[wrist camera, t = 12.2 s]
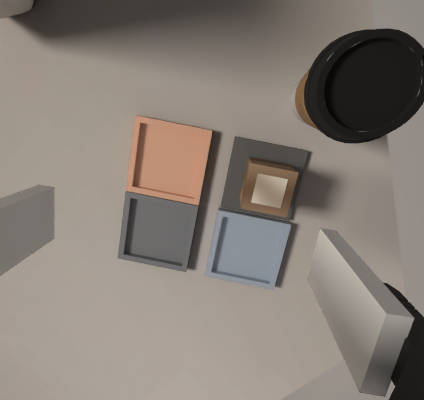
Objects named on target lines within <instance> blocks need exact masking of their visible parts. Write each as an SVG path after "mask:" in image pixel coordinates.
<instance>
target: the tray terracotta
mask: <svg viewBox="0 0 424 400" xmlns="http://www.w3.org/2000/svg"><path fill="white" fill-rule="evenodd" d="M212 133H213V130H208V129H203V128H198V127H193V126H188V125H183V124H178V123H173V122H168V121H163V120H158V119H153V118H148V117H143V116H137V115H135V120H134V128H133V136H132V145H131V153H130V161H129V169H128V178H127V186H126V191H129V192H134V193H139V194H144V195H149V196H154V197H159V198H164V199H169V200H174V201H179V202H184V203H189V204H194V205H199V203H200V197H201V192H202V187H203V181H204V176H205V171H206V165H207V160H208V155H209V149H210V144H211V139H212Z"/></svg>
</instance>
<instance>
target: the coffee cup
mask: <svg viewBox="0 0 424 400" xmlns="http://www.w3.org/2000/svg"><path fill="white" fill-rule="evenodd" d="M291 102H292V108H293V111H294V113H295V115H296V116H297V117H298V119H300V120H301V121H302V122H304V123H306V124H308V125H310V126H312V127H314V128H316V129H318V130H320V131H321V132H322V133H324V134H325V135H326V136H327V137H329V138H332V139H334V140H336V141H339V142H343V143H363V142H369V141H372V140H375V139H378V138H380V137H382V136H384V135H386V134H388V133H390V132H391V131H393V130H395V129H397V128H398V127H400V126H402V125H403V124H404V123H406V122H407V121H408V120H409V119H410V118H411V117H412V116H413V115H414V114H415V113H416V112H417V111H418V110H419V108H420V107H421V105H422V104H423V102H424V48H423V47H422V46H421V45H420V44H419V43H418V42H417V41H416V40H415V39H414V38H413V37H411V36H410V35H408V34H407V33H405V32H402V31H400V30H394V29H376V30H361V31H356V32H352V33H349V34H347V35H344V36H342V37H339V38H338V39H336V40H335V41H333V42H332V43H330V44H329V45H328V46H327V47H326V48H325V49H324V50H323V51H322V52H321V53H320V54H319V55H318V57H317V58H316V59H315V61H314V63H313V65H312V66H311V68H310V69H309V70H308V72H307V73H306V74H305V75H304V77H303V78H302V79H301V80H300V81H299V82H298V84H297V85H296V87H295V89H294V91H293V94H292V100H291Z"/></svg>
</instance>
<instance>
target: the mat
mask: <svg viewBox="0 0 424 400" xmlns="http://www.w3.org/2000/svg"><path fill="white" fill-rule="evenodd" d="M307 155H308V151H306V150H301V149H296V148H291V147H286V146H281V145H276V144H271V143H265V142H260V141H255V140H250V139H245V138H240V137H235V139H234V144H233V149H232V154H231V159H230V164H229V169H228V173H227V178H226V183H225V188H224V193H223V198H222V202H221V207H223V208H228V209H233V210H238V211H243V212H248V213H253V214H258V215H263V216H268V217H273V218H278V219H283V220H288V221H290V218H291V214H292V210H293V207H294V203H295V199H296V195H297V192H298V188H299V184H300V181H301V177H302V173H303V170H304V166H305V162H306V159H307ZM248 156H249V157H254V158H259V159H264V160H269V161H274V162H279V163H284V164H288V165H290V166H291V167H292V168H294V169H295V170H296V171H297V172H299V173H298V177H297V181H296V185H295V188H294V192H293V196H292V200H291V203H290V207H289V211H288V214H287V218H286V217H281V216H276V215H271V214H266V213H261V212H256V211H251V210H246V209H241V204H240V191H241V186H242V182H243V177H244V173H245V168H246V164H247V159H248Z"/></svg>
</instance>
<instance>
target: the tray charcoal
mask: <svg viewBox="0 0 424 400" xmlns="http://www.w3.org/2000/svg"><path fill="white" fill-rule="evenodd" d="M198 208H199V205H194V204H189V203H184V202H179V201H174V200H169V199H164V198H159V197H154V196H149V195H144V194H139V193H134V192H129V191H126V194H125V203H124V211H123V219H122V227H121V236H120V244H119V252H118V258H119V259H124V260H129V261H134V262H139V263H144V264H149V265H154V266H159V267H164V268H169V269H174V270H179V271H184V272H186V271H187V267H188V262H189V256H190V251H191V246H192V240H193V235H194V229H195V224H196V219H197V213H198Z"/></svg>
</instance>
